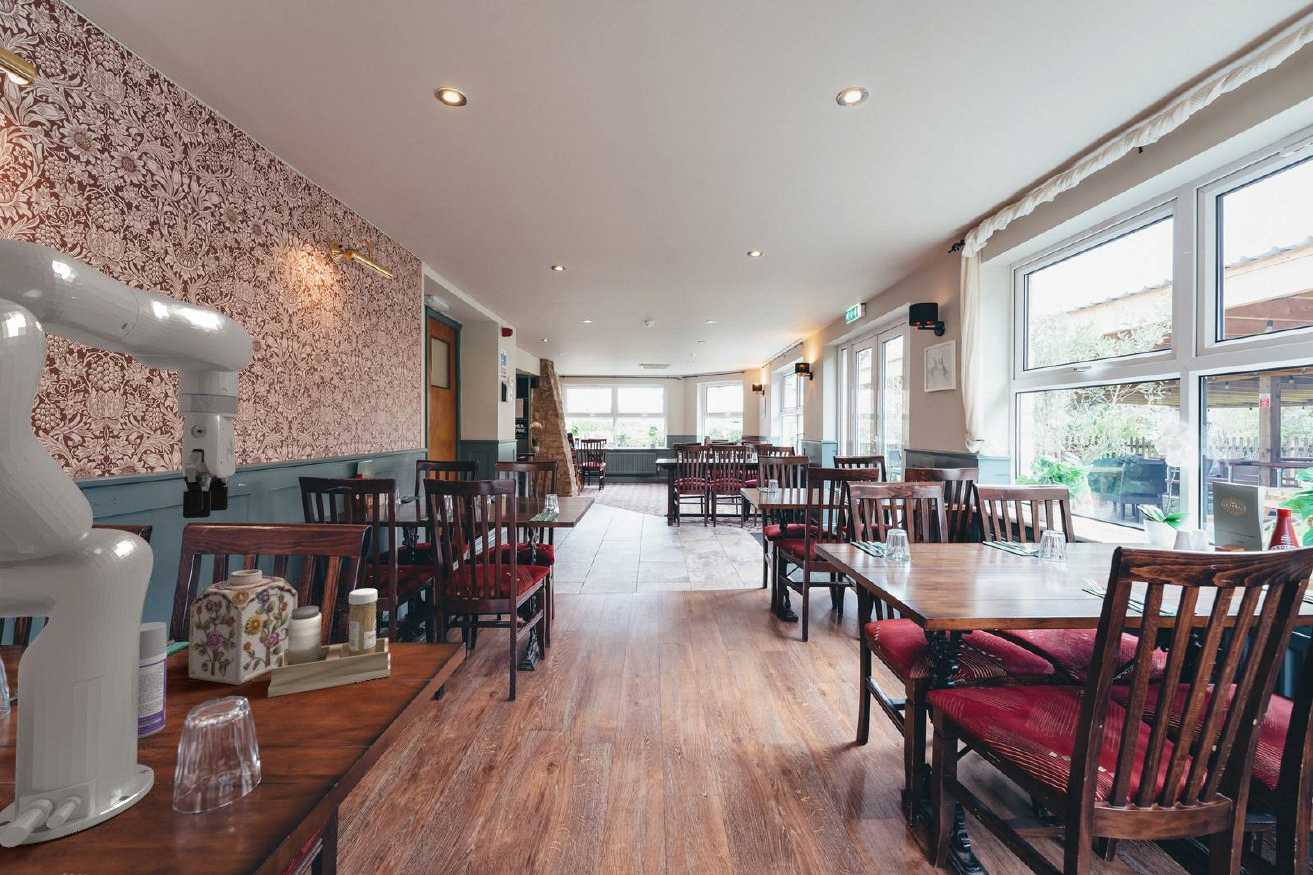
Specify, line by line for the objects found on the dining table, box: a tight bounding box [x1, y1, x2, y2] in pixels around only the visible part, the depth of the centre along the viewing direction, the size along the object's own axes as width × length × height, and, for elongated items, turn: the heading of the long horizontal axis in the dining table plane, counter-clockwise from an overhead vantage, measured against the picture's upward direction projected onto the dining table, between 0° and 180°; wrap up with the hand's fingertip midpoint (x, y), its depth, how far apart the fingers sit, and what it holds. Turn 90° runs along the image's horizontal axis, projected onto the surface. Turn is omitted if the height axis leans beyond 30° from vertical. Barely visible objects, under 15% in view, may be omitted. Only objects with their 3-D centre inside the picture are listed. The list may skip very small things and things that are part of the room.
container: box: [137, 621, 168, 740], centre depth 78 cm, size 5×5×15 cm
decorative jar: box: [188, 569, 298, 686], centre depth 99 cm, size 12×12×18 cm
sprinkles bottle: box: [348, 587, 378, 657], centre depth 98 cm, size 5×5×14 cm
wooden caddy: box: [267, 605, 391, 698], centre depth 96 cm, size 8×18×13 cm, turn 116°
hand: (206, 513), depth 87 cm, fingers open, 9 cm apart
